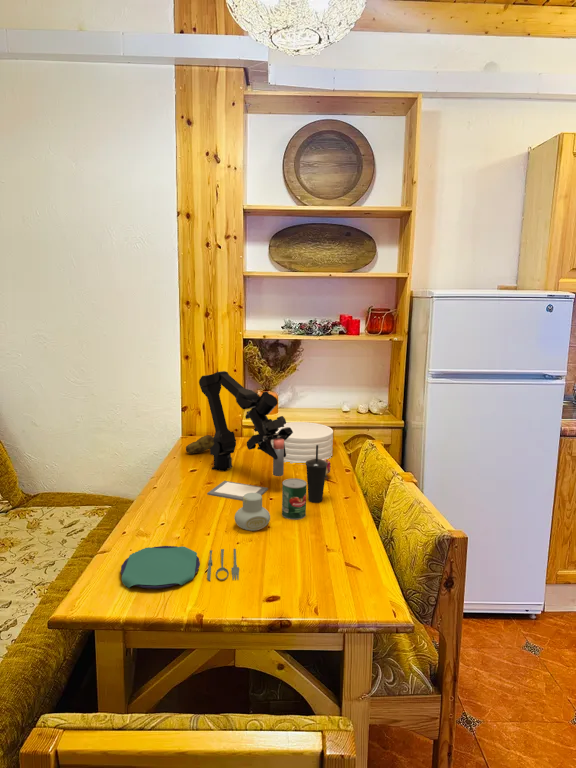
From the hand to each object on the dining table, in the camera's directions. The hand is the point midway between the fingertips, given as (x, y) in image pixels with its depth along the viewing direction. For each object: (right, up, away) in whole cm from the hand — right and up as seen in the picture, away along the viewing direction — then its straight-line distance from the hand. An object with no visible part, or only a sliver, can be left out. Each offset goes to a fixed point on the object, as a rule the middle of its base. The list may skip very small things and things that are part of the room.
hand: (281, 457), depth 180 cm
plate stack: (+8, -6, +48) cm, 49 cm away
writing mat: (-16, -13, +2) cm, 20 cm away
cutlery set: (-25, -22, -49) cm, 60 cm away
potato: (-37, -5, +46) cm, 59 cm away
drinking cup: (+12, -15, -4) cm, 19 cm away
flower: (+15, -11, +18) cm, 25 cm away
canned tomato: (+4, -17, -15) cm, 23 cm away
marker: (-1, -6, +2) cm, 7 cm away
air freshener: (-9, -18, -24) cm, 31 cm away
